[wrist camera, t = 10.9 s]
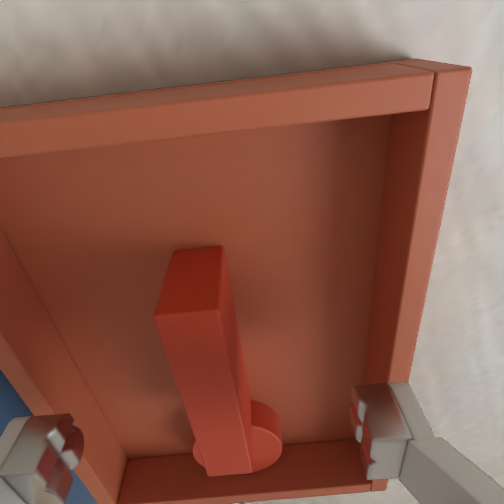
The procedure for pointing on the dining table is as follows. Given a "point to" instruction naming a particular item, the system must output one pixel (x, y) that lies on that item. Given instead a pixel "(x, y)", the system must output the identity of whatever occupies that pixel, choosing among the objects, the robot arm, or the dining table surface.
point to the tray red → (237, 257)
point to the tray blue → (11, 405)
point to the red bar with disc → (213, 366)
